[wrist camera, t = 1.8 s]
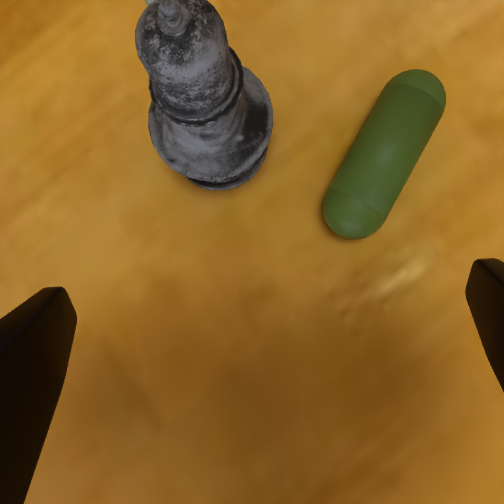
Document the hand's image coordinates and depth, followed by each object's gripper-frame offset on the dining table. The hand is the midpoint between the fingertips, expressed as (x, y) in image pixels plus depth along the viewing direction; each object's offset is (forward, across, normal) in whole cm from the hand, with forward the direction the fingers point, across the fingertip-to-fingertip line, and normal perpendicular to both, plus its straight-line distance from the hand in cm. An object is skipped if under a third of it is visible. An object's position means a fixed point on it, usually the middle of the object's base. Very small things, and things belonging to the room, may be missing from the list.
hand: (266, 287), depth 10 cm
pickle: (+14, -6, +4) cm, 16 cm away
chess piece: (+16, +2, +3) cm, 16 cm away
